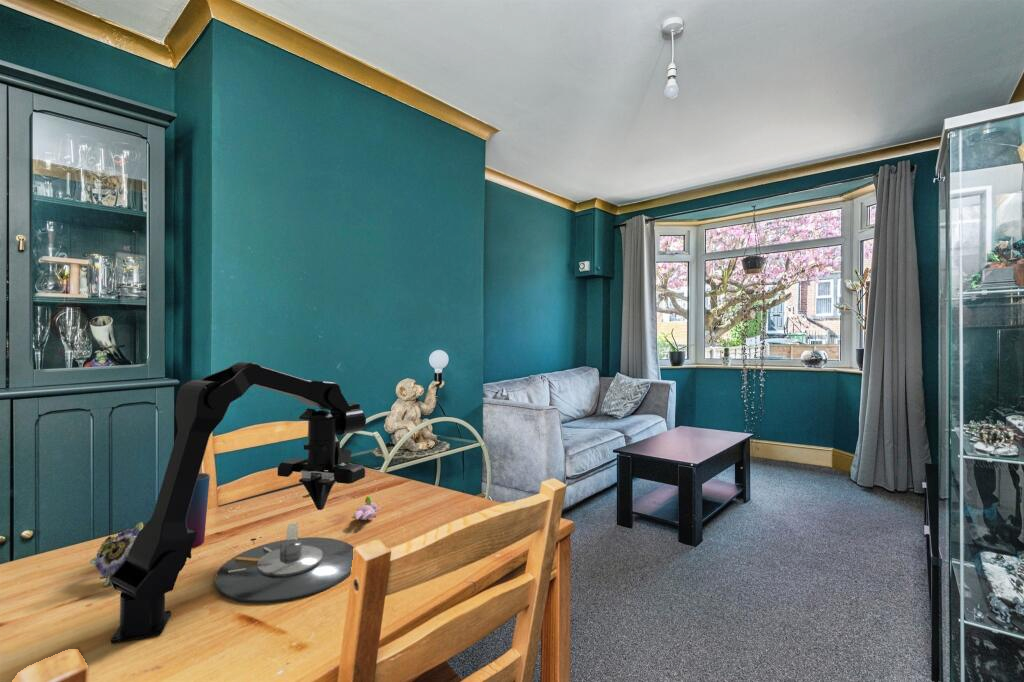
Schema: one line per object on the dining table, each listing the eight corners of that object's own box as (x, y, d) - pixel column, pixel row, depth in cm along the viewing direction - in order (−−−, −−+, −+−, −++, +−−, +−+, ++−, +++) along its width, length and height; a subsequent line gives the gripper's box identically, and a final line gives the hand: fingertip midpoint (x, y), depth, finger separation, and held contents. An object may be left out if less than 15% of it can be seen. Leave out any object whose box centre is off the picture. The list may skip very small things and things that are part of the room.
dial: (323, 570, 96) (323, 550, 96) (254, 580, 91) (254, 560, 91) (321, 537, 111) (321, 520, 111) (262, 544, 107) (262, 527, 107)
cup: (191, 552, 105) (192, 482, 105) (164, 548, 107) (165, 480, 107) (216, 539, 112) (217, 474, 112) (190, 536, 113) (191, 471, 113)
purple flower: (360, 514, 133) (346, 526, 118) (361, 492, 134) (347, 501, 119) (383, 514, 134) (372, 526, 119) (384, 491, 135) (374, 500, 120)
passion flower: (109, 614, 91) (69, 563, 90) (160, 576, 102) (124, 530, 101) (146, 589, 88) (105, 536, 88) (194, 552, 99) (158, 504, 98)
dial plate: (363, 587, 92) (364, 581, 92) (202, 615, 82) (202, 608, 82) (352, 535, 116) (353, 530, 116) (227, 551, 106) (227, 546, 106)
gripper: (379, 434, 113) (377, 502, 113) (310, 429, 118) (308, 494, 118) (350, 444, 102) (349, 519, 102) (276, 438, 107) (274, 509, 107)
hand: (320, 509), depth 108 cm, fingers closed
